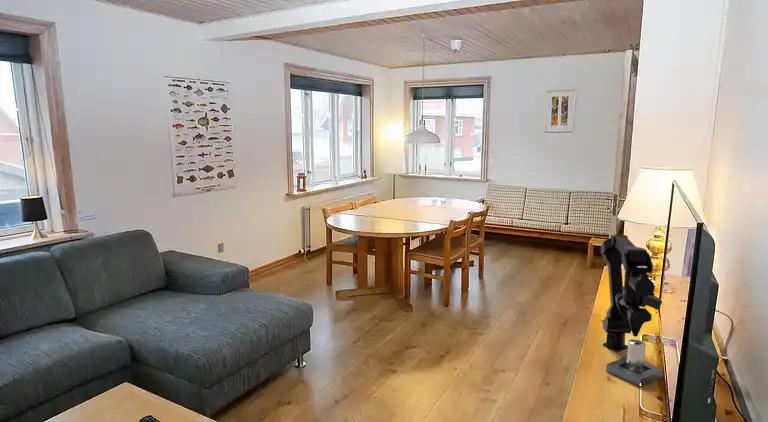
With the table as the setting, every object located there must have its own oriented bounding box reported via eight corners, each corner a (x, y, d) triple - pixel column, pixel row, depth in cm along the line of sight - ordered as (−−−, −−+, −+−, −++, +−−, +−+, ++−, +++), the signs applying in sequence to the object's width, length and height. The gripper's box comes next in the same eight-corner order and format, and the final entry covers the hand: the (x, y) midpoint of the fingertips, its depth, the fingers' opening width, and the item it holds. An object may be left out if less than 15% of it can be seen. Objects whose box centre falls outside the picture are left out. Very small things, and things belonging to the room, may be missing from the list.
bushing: (628, 368, 164) (631, 337, 162) (644, 373, 161) (647, 341, 159) (623, 374, 160) (626, 342, 158) (640, 379, 157) (643, 347, 155)
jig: (628, 362, 168) (629, 355, 168) (662, 376, 158) (663, 369, 158) (606, 371, 163) (606, 364, 162) (639, 387, 152) (640, 379, 152)
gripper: (671, 296, 150) (667, 344, 153) (650, 278, 168) (647, 321, 171) (632, 295, 152) (629, 342, 155) (615, 277, 170) (613, 319, 173)
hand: (630, 330), depth 163 cm, fingers open, 9 cm apart
